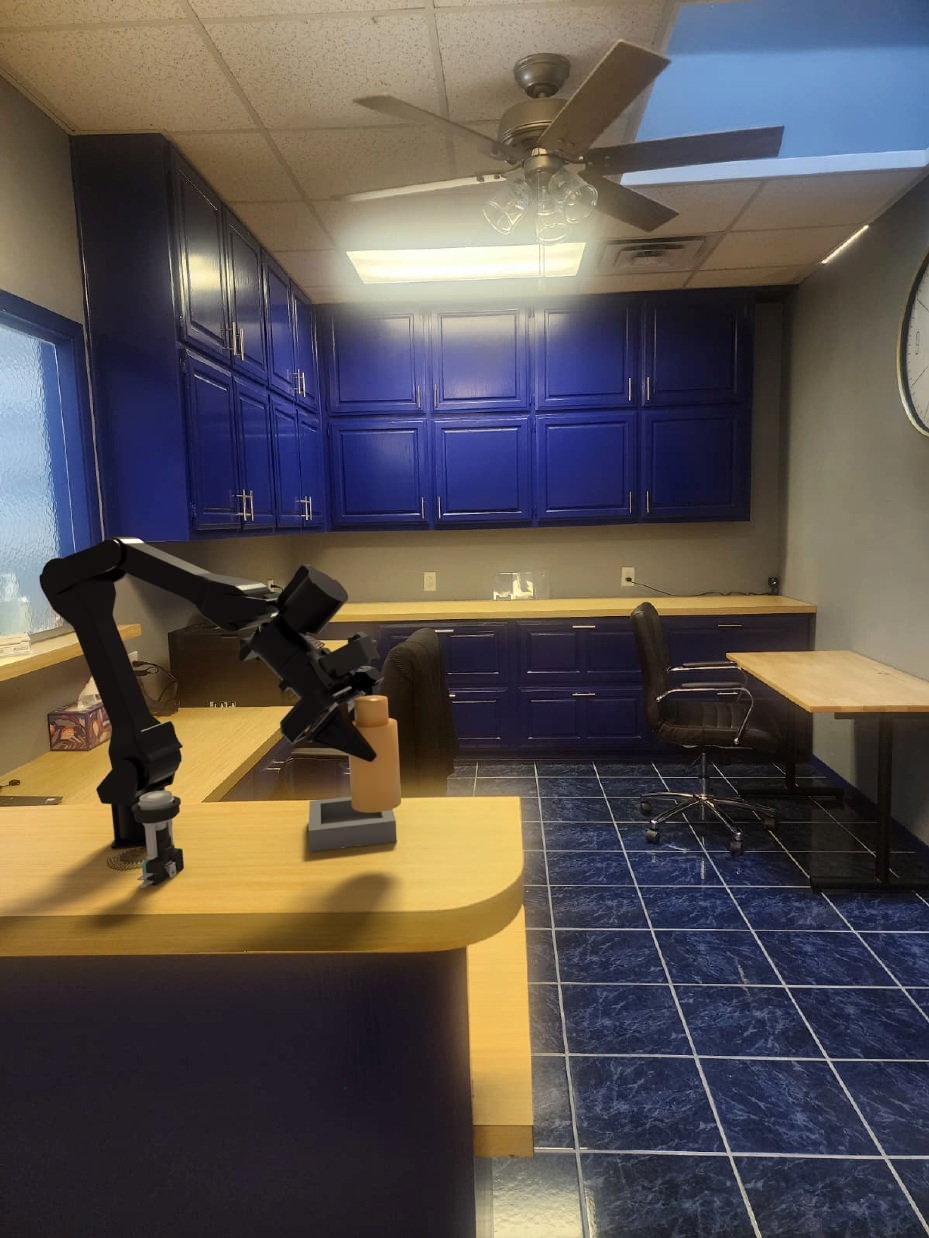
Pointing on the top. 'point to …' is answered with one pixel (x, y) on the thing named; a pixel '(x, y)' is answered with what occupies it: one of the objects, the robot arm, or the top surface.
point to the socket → (347, 825)
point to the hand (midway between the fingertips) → (384, 751)
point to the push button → (159, 836)
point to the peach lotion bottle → (381, 777)
